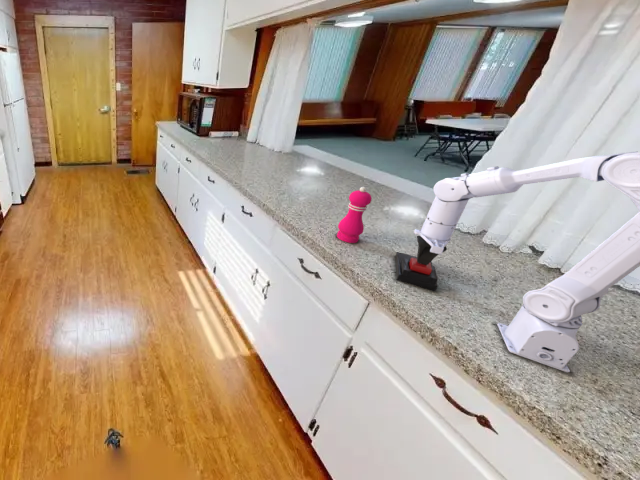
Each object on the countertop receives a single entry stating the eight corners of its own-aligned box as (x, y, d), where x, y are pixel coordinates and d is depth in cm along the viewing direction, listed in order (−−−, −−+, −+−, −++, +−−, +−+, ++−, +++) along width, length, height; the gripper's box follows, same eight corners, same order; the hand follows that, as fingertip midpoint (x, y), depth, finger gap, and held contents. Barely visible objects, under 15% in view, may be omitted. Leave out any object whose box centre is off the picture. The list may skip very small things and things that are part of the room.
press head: (429, 275, 81) (432, 269, 80) (409, 270, 83) (412, 264, 82) (427, 268, 84) (430, 262, 83) (408, 263, 86) (411, 257, 85)
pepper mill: (333, 238, 105) (348, 187, 97) (337, 231, 110) (352, 181, 102) (357, 246, 100) (376, 193, 92) (361, 237, 105) (378, 186, 97)
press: (434, 291, 80) (440, 280, 78) (396, 280, 85) (401, 268, 83) (428, 266, 90) (434, 255, 88) (394, 256, 95) (399, 246, 93)
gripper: (418, 206, 84) (401, 246, 90) (423, 227, 74) (404, 270, 79) (452, 213, 80) (433, 254, 86) (463, 236, 70) (440, 281, 75)
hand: (422, 262), depth 82 cm, fingers closed
